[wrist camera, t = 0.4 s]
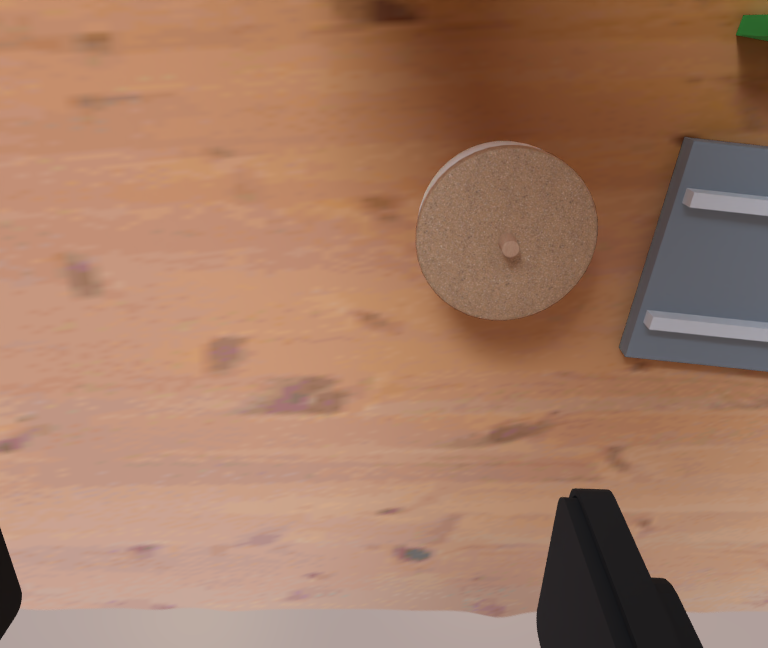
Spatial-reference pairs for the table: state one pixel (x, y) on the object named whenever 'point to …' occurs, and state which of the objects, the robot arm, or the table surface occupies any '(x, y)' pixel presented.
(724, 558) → the table surface
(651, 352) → the rail board
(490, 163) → the lidded jar
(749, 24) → the pipe clamp
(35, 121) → the table surface
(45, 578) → the table surface
